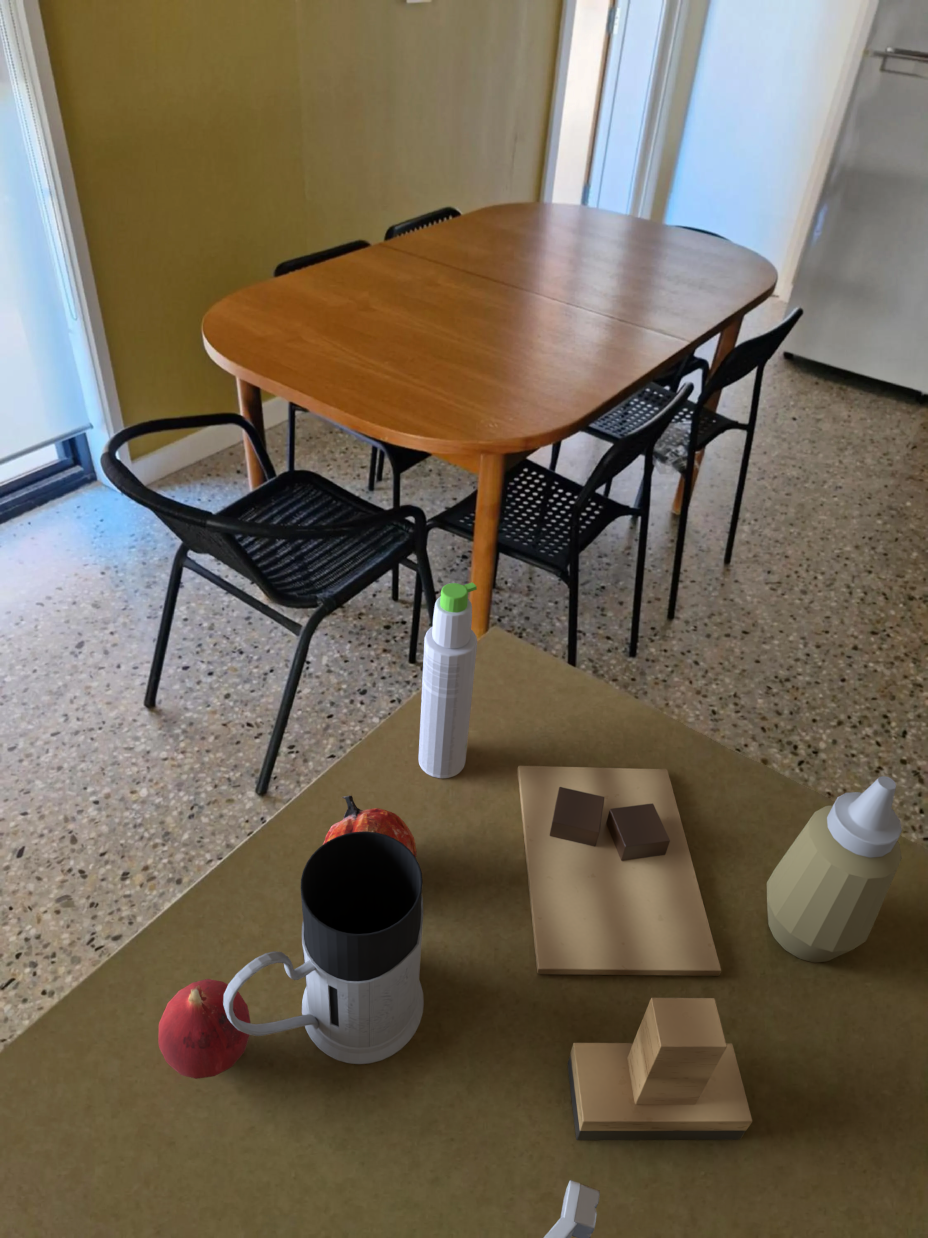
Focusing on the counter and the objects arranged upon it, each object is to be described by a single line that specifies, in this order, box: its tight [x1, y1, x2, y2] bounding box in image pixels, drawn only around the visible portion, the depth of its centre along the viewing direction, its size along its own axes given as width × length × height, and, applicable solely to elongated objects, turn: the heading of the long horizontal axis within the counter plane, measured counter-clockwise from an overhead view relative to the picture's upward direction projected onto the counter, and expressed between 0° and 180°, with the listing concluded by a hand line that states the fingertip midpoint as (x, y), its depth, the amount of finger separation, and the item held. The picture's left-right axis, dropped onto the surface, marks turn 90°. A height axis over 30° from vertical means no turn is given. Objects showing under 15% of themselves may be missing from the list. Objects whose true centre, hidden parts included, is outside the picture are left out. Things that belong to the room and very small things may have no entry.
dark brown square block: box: [606, 803, 670, 861], centre depth 76 cm, size 4×4×2 cm
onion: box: [157, 978, 252, 1080], centre depth 58 cm, size 6×6×8 cm
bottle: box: [418, 581, 478, 779], centre depth 76 cm, size 4×4×20 cm
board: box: [517, 765, 722, 977], centre depth 75 cm, size 14×20×1 cm
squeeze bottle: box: [766, 775, 903, 963], centre depth 66 cm, size 8×8×18 cm
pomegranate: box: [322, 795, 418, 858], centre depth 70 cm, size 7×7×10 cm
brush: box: [566, 997, 753, 1141], centre depth 57 cm, size 11×5×11 cm, turn 92°
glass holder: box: [223, 831, 425, 1065], centre depth 58 cm, size 9×14×15 cm, turn 131°
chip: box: [550, 787, 604, 847], centre depth 76 cm, size 4×4×2 cm
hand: (681, 1223), depth 42 cm, fingers open, 8 cm apart
